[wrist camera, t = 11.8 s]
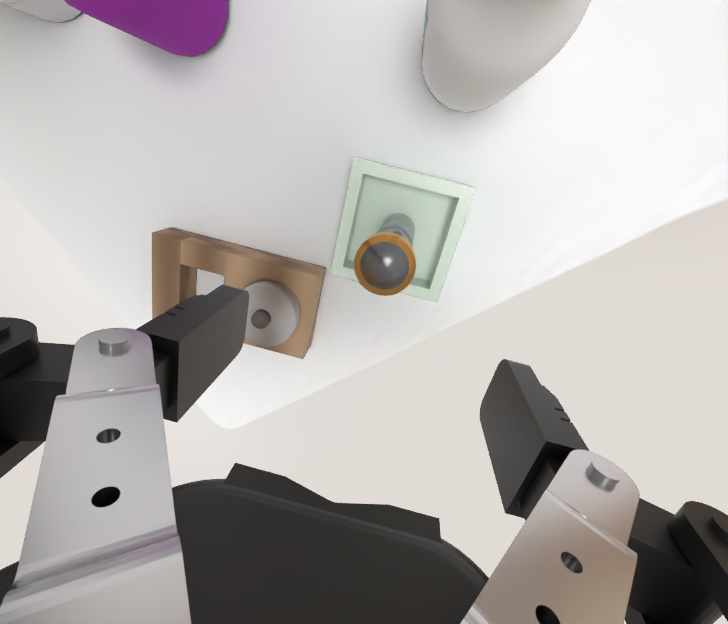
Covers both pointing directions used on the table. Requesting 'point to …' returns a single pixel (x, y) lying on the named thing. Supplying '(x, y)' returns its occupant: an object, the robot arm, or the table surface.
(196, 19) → the beverage can
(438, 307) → the table surface
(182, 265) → the block
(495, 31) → the milk bottle
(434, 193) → the tray
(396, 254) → the pin
